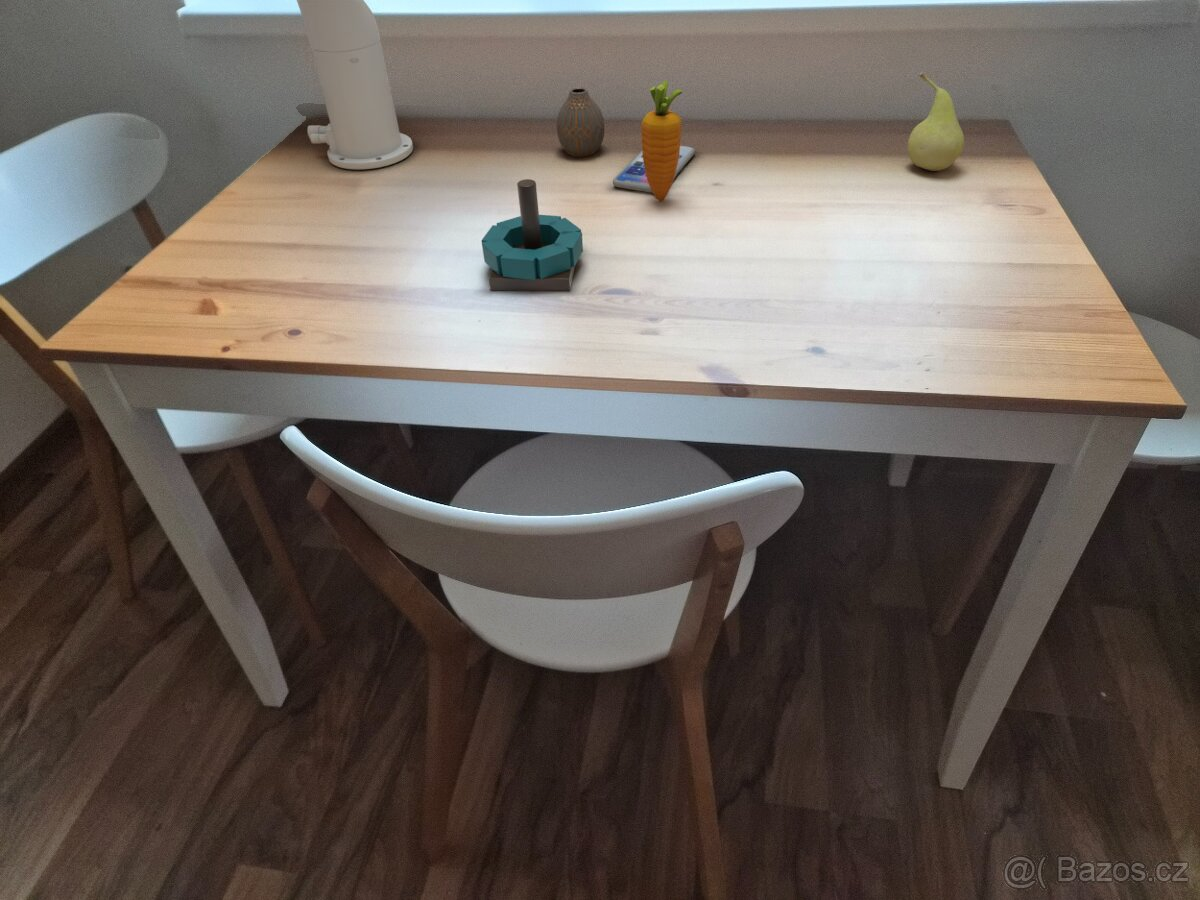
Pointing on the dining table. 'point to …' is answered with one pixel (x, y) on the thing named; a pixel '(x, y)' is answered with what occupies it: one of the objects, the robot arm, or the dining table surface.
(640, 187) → the smartphone
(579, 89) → the vase
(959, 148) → the fruit
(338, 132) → the robot arm
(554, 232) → the ring
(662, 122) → the carrot
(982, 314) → the dining table surface
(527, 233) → the stand
